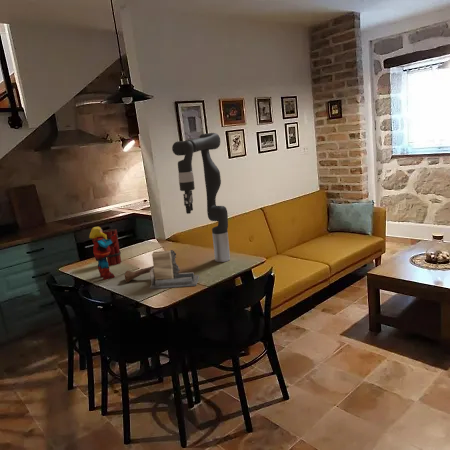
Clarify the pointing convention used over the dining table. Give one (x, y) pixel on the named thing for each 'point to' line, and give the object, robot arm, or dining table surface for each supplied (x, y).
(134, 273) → the hammer
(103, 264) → the toy
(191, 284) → the rail
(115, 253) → the dynamite
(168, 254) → the wooden block
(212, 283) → the dining table surface
